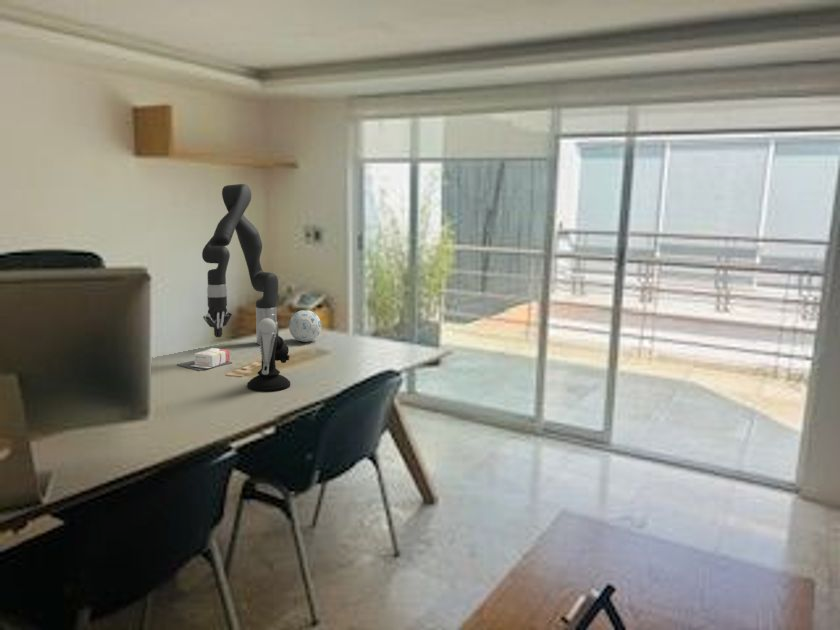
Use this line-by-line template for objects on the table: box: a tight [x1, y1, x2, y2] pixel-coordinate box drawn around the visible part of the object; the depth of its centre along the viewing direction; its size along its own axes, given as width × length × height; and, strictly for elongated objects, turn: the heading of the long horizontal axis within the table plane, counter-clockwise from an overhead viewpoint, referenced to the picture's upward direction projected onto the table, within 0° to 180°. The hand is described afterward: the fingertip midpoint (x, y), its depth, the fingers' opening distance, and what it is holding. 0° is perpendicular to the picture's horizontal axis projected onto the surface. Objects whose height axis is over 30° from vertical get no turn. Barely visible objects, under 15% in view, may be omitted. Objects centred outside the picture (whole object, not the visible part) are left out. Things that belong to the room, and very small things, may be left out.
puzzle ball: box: [288, 309, 322, 343], centre depth 311 cm, size 15×15×15 cm
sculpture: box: [246, 318, 291, 393], centre depth 240 cm, size 15×24×25 cm, turn 172°
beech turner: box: [225, 360, 262, 378], centre depth 259 cm, size 20×7×1 cm, turn 165°
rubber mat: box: [176, 359, 233, 372], centre depth 266 cm, size 16×14×1 cm
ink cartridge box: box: [191, 347, 231, 369], centre depth 264 cm, size 9×5×15 cm
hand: (218, 336), depth 270 cm, fingers closed
